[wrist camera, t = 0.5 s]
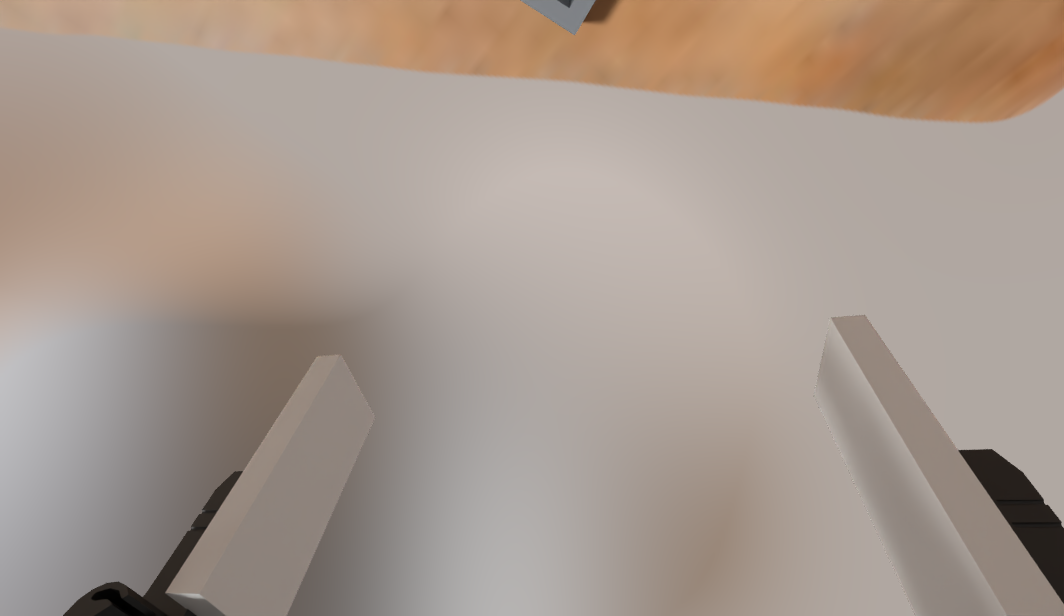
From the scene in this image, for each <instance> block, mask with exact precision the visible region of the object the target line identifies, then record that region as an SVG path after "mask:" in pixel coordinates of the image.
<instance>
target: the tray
mask: <svg viewBox="0 0 1064 616" xmlns="http://www.w3.org/2000/svg"><path fill="white" fill-rule="evenodd" d="M521 1H522V2H524V3H525V4H527V5H528V6H530V7H532V8H533V9H535V10H536V11H538V12H539V13H541V14H542V15H544V16H546V17H547V18H549V19H550V20H552V21H553V22H555V23H556V24H558V25H559V26H561V27H563V28H564V29H566V30H567V31H569V32H570V33H572V34H573V35H575V34H576V32H577V31H578V29H579V27H580V26H581V24H582V22H583V21H584V19H585V17H586V16H587V14H588V12H589V11H590V9H591V7H592V5H593V4H594V2H595V0H521Z"/></svg>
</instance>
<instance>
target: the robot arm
mask: <svg viewBox="0 0 1064 616" xmlns="http://www.w3.org/2000/svg"><path fill="white" fill-rule="evenodd" d="M814 397H815V400H816V402H817V404H818V406H819V408H820V410H821V413H822V415H823V417H824V419H825V421H826V423H827V426H828V428H829V430H830V432H831V434H832V436H833V439H834V441H835V443H836V445H837V447H838V449H839V451H840V454H841V456H842V458H843V460H844V462H845V465H846V467H847V469H848V471H849V473H850V475H851V478H852V480H853V482H854V484H855V486H856V488H857V491H858V493H859V495H860V497H861V499H862V501H863V503H864V506H865V508H866V510H867V512H868V514H869V517H870V519H871V521H872V523H873V525H874V527H875V530H876V532H877V534H878V536H879V538H880V541H881V543H882V545H883V547H884V549H885V551H886V553H887V555H888V558H889V560H890V562H891V564H892V566H893V569H894V570H895V573H896V575H897V577H898V579H899V582H900V584H901V586H902V588H903V590H904V592H905V595H906V597H907V599H908V601H909V603H910V605H911V608H912V610H913V612H914V614H915V616H1064V528H1063V527H1062V525H1061V521H1060V520H1059V518H1058V517H1057V516H1056V515H1055V514H1054V512H1053V511H1052V509H1051V508H1050V507H1049V506H1048V505H1045V504H1044V500H1043V498H1042V497H1041V495H1040V494H1039V493H1038V492H1037V490H1036V489H1035V488H1034V486H1033V485H1032V484H1031V482H1030V481H1029V480H1028V479H1027V477H1026V476H1025V475H1024V473H1023V472H1022V471H1020V470H1019V469H1018V468H1016V467H1015V466H1014V465H1012V464H1011V463H1010V462H1008V461H1007V460H1006V459H1004V458H1003V457H1002V456H1000V455H999V454H998V453H996V452H995V451H994V450H992V449H986V450H985V449H984V450H957V448H956V447H955V445H954V444H953V442H952V441H951V440H950V438H949V436H948V435H947V434H946V432H945V431H944V429H943V428H942V426H941V425H940V423H939V422H938V421H937V419H936V418H935V416H934V415H933V413H932V412H931V410H930V409H929V407H928V406H927V405H926V403H925V402H924V400H923V399H922V397H921V396H920V394H919V393H918V391H917V390H916V388H915V387H914V386H913V384H912V383H911V381H910V380H909V378H908V377H907V375H906V374H905V372H904V371H903V370H902V368H901V367H900V365H899V364H898V362H897V361H896V359H895V358H894V357H893V355H892V354H891V353H890V351H889V349H888V348H887V346H886V345H885V343H884V342H883V341H882V339H881V338H880V336H879V335H878V333H877V332H876V330H875V329H874V328H873V326H872V324H871V323H870V322H869V320H868V319H867V317H866V316H865V315H859V316H844V317H831V318H830V321H829V325H828V331H827V335H826V340H825V345H824V349H823V354H822V359H821V364H820V369H819V373H818V378H817V383H816V387H815V392H814ZM374 419H375V416H374V414H373V412H372V411H371V409H370V407H369V405H368V403H367V401H366V400H365V398H364V396H363V394H362V392H361V390H360V389H359V387H358V385H357V383H356V381H355V379H354V378H353V376H352V374H351V372H350V370H349V369H348V367H347V365H346V363H345V361H344V359H343V358H342V356H341V355H328V356H317V358H316V359H315V361H314V362H313V364H312V365H311V367H310V369H309V370H308V372H307V373H306V375H305V376H304V378H303V379H302V381H301V382H300V384H299V386H298V387H297V389H296V390H295V392H294V393H293V395H292V396H291V398H290V400H289V401H288V403H287V404H286V406H285V407H284V409H283V410H282V412H281V414H280V415H279V417H278V418H277V420H276V421H275V423H274V425H273V426H272V428H271V429H270V431H269V432H268V434H267V435H266V437H265V438H264V440H263V441H262V443H261V445H260V446H259V448H258V449H257V451H256V452H255V454H254V455H253V457H252V459H251V460H250V462H249V463H248V465H247V466H246V468H245V469H244V471H238V472H234V473H233V474H232V475H231V476H230V477H229V478H227V479H226V480H225V481H224V482H223V483H222V484H221V485H220V486H219V487H218V488H217V489H216V490H215V491H214V493H213V494H212V496H211V497H210V499H209V501H208V502H207V503H206V505H205V506H204V508H203V509H202V514H199V515H198V517H197V518H196V520H195V521H194V523H193V524H192V526H191V530H190V531H188V532H187V533H186V535H185V536H184V538H183V539H182V541H181V542H180V544H179V545H178V547H177V548H176V550H175V551H174V553H173V554H172V556H171V557H170V559H169V560H168V562H167V563H166V565H165V566H164V568H163V569H162V570H161V572H160V574H159V575H158V576H157V578H156V580H155V581H154V583H153V584H152V585H151V587H150V588H149V590H148V591H147V593H146V594H145V595H144V596H143V597H141V596H140V595H138V594H137V593H136V592H134V591H133V590H132V589H130V588H129V587H127V586H126V585H124V584H122V583H120V582H111V583H106V584H104V585H102V586H99V587H97V588H95V589H93V590H91V591H90V592H88V593H87V594H86V595H84V596H83V597H81V598H80V599H79V600H78V601H77V602H76V603H75V604H74V605H73V606H72V607H71V608H70V609H69V610H68V611H67V612H66V613H65V614H64V615H63V616H287V613H288V611H289V609H290V607H291V604H292V602H293V600H294V598H295V596H296V593H297V591H298V589H299V587H300V584H301V582H302V580H303V578H304V575H305V573H306V571H307V569H308V566H309V564H310V562H311V560H312V557H313V555H314V553H315V551H316V548H317V546H318V544H319V542H320V540H321V537H322V535H323V533H324V531H325V528H326V526H327V524H328V522H329V519H330V517H331V515H332V513H333V510H334V508H335V506H336V504H337V501H338V499H339V497H340V495H341V492H342V490H343V488H344V486H345V484H346V481H347V479H348V477H349V475H350V472H351V470H352V468H353V465H354V463H355V461H356V459H357V457H358V454H359V452H360V450H361V448H362V446H363V443H364V441H365V439H366V436H367V434H368V432H369V430H370V428H371V425H372V423H373V421H374Z"/></svg>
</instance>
